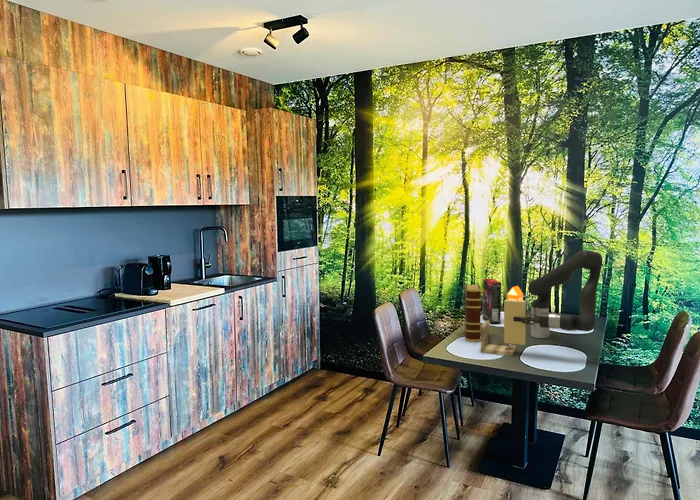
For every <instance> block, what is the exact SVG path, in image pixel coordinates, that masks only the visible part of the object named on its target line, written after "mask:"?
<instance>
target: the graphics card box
mask: <svg viewBox="0 0 700 500" xmlns="http://www.w3.org/2000/svg"><path fill="white" fill-rule="evenodd" d="M482 285H483V286H482V314H481V315H482V316H481V317H482V319H483V320H485V321H486V320H488V321H489V324H491V325H492V324H493V325H494V324H495V325H496V324H499V325H500V324H501V318H502V317H501V315H502V314H501V311H502V309H501V308H502V281H498V280H497V279H493V278H484V279H483V280H482Z"/></svg>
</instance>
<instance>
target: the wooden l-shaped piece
mask: <svg viewBox="0 0 700 500" xmlns="http://www.w3.org/2000/svg"><path fill="white" fill-rule="evenodd" d="M480 330H481V332H480V339H481V341H480V353H482V354H490V355H498V356H506V357H513V355H514V354H515V352H516V350H517V344H510V346H503V345H494V344H488V334H490V323H489V321H488V320H485V322H483V323H482V324H481V325H480Z"/></svg>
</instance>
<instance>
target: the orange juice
mask: <svg viewBox="0 0 700 500" xmlns="http://www.w3.org/2000/svg"><path fill="white" fill-rule="evenodd" d="M506 296H507V297H506V300H522V301H524V293H523V292H522V290H521V288H520V287H519V285H516V286H512V287H511V289H510V290H509V291H508V292H507V295H506Z"/></svg>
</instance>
